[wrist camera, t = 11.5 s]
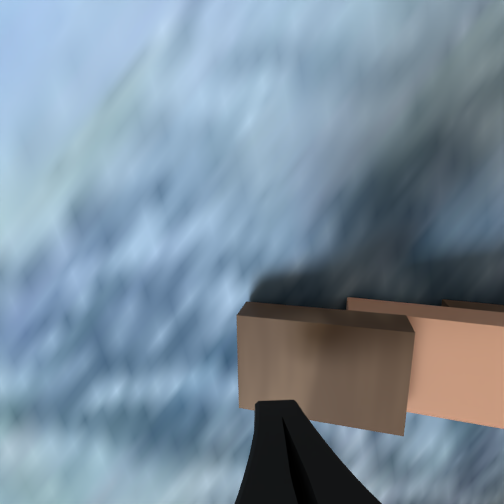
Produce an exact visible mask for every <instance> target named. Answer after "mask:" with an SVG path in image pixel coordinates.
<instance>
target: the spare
mask: <svg viewBox="0 0 504 504" xmlns="http://www.w3.org/2000/svg"><path fill="white" fill-rule="evenodd" d="M346 310H351V311H362V312H374V313H386V314H397V315H406V316H407V318H408V320H409V322H410V323H411V325H412V327H413V329H414V331H415V340H414V349H413V357H412V366H411V375H410V384H409V393H408V402H407V410H406V412H411V413H417V414H422V415H428V416H434V417H439V418H445V419H451V420H456V421H462V422H468V423H474V424H479V425H485V426H491V427H496V428H502V429H504V313H503V312H493V311H483V310H473V309H463V308H453V307H443V306H433V305H423V304H413V303H403V302H392V301H382V300H372V299H362V298H352V297H347V305H346Z"/></svg>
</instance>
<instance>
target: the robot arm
mask: <svg viewBox="0 0 504 504" xmlns="http://www.w3.org/2000/svg"><path fill="white" fill-rule="evenodd" d="M235 504H381V503H380V502H379V501H378V500H377V499H376V498H375V497H374V496H373V495H372V494H371V493H370V492H369V491H368V490H367V489H366V488H365V487H364V486H363V485H362V483H361V482H360V481H359V480H358V479H357V478H356V477H355V476H354V475H353V474H352V473H351V472H350V470H349V469H348V468H347V467H346V466H345V465H344V464H343V463H342V461H341V460H340V459H339V458H338V457H337V455H336V454H335V453H334V452H333V451H332V449H331V448H330V447H329V446H328V444H327V443H326V442H325V441H324V439H323V438H322V437H321V436H320V434H319V433H318V432H317V430H316V429H315V428H314V426H313V425H312V423H311V422H310V421H309V419H308V418H307V417H306V415H305V414H304V412H303V411H302V409H301V408H300V406H299V405H298V403H297V402H296V401H295V400H269V401H258V402H257V403H255V420H254V435H253V440H252V445H251V450H250V455H249V459H248V462H247V466H246V470H245V473H244V477H243V480H242V483H241V487H240V490H239V493H238V496H237V499H236V501H235Z"/></svg>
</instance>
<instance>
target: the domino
mask: <svg viewBox="0 0 504 504" xmlns="http://www.w3.org/2000/svg"><path fill="white" fill-rule="evenodd" d="M414 340H415V331H414V329H413V327H412V325H411V323H410V322H409V320H408V318H407V316H406V315H397V314H386V313H374V312H362V311H351V310H339V309H327V308H316V307H304V306H293V305H281V304H269V303H258V302H246V303H245V304H244V306H243V307H242V309H241V310H240V311H239V313H238V314H237V348H238V387H239V408H243V409H249V410H255V403H257V402H258V401H269V400H295V401H296V402H297V403H298V405H299V406H300V408H301V409H302V411H303V412H304V414H305V415H306V417H307V418H308V419H309V420H313V421H318V422H324V423H330V424H336V425H342V426H347V427H353V428H359V429H365V430H371V431H376V432H382V433H388V434H394V435H400V436H404V428H405V419H406V410H407V402H408V393H409V384H410V375H411V366H412V357H413V349H414Z"/></svg>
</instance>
